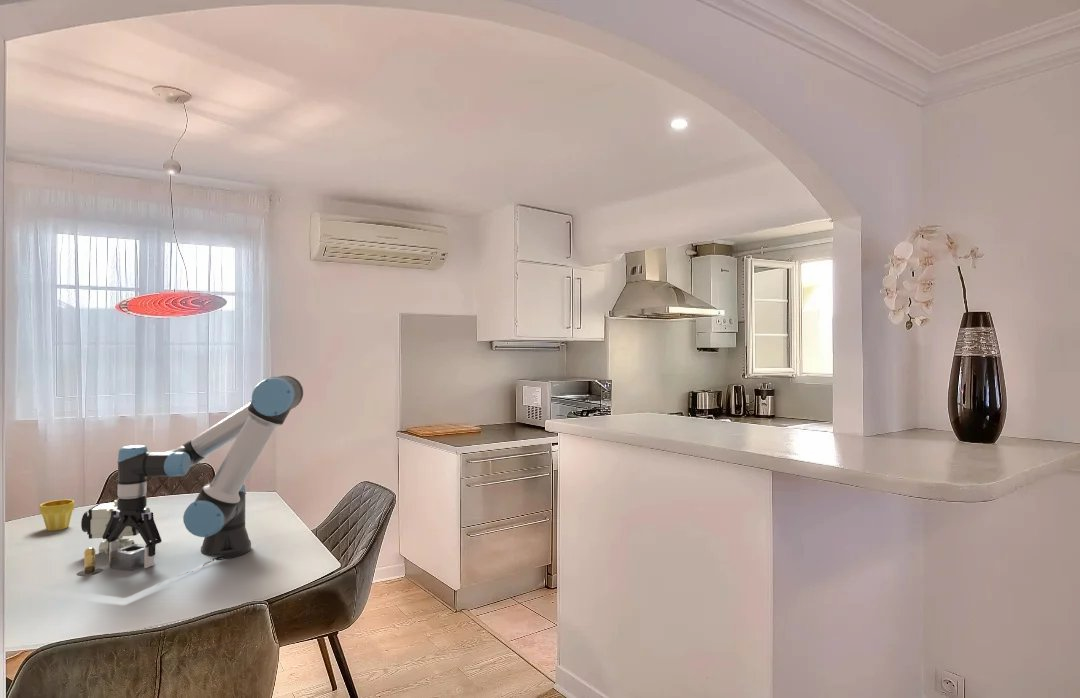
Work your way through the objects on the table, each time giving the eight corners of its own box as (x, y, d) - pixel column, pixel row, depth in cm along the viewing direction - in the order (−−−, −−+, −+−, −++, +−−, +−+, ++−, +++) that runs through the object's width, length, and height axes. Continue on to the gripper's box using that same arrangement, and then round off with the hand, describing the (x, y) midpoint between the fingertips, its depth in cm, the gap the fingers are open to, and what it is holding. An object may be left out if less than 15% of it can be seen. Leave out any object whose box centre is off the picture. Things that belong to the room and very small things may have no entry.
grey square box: (153, 561, 192) (153, 545, 192) (131, 570, 185) (131, 554, 185) (133, 559, 194) (133, 543, 194) (110, 568, 187) (110, 551, 187)
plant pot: (40, 534, 225) (40, 507, 225) (39, 527, 233) (39, 502, 233) (75, 528, 232) (75, 503, 232) (73, 522, 240) (73, 497, 240)
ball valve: (78, 560, 197) (78, 505, 197) (90, 552, 206) (90, 499, 205) (142, 555, 202) (142, 502, 202) (151, 547, 210) (151, 496, 210)
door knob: (108, 574, 186) (108, 545, 186) (87, 581, 180) (87, 552, 180) (91, 572, 188) (91, 543, 188) (71, 579, 181) (70, 550, 181)
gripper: (175, 496, 190) (174, 564, 190) (111, 490, 196) (111, 556, 196) (154, 501, 183) (153, 572, 183) (89, 495, 189) (88, 564, 189)
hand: (131, 564), depth 190 cm, fingers open, 13 cm apart
